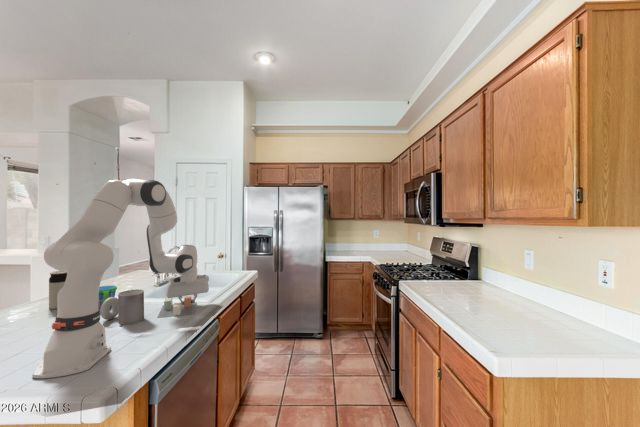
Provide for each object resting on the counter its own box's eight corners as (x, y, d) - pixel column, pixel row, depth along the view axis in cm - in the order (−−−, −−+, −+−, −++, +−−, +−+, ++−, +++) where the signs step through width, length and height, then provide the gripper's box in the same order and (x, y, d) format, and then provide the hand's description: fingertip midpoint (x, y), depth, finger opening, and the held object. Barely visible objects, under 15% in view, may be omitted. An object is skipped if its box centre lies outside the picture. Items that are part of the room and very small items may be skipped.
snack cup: (92, 305, 160) (92, 286, 160) (116, 302, 166) (116, 283, 166) (90, 313, 147) (90, 292, 147) (117, 309, 153) (117, 289, 153)
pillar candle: (128, 319, 140) (128, 286, 140) (149, 319, 139) (148, 286, 139) (112, 327, 130) (112, 292, 130) (134, 327, 130) (134, 292, 129)
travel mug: (64, 308, 155) (64, 272, 155) (45, 309, 153) (45, 273, 153) (72, 304, 162) (72, 270, 162) (54, 305, 160) (54, 270, 160)
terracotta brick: (190, 306, 154) (190, 299, 154) (184, 307, 153) (184, 299, 153) (191, 303, 160) (191, 295, 160) (185, 304, 158) (185, 296, 158)
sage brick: (170, 309, 151) (171, 300, 151) (164, 309, 150) (164, 301, 150) (172, 305, 156) (172, 297, 156) (165, 306, 155) (165, 298, 155)
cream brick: (180, 314, 142) (180, 306, 142) (173, 315, 141) (173, 306, 141) (181, 311, 148) (181, 302, 148) (174, 311, 147) (174, 303, 147)
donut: (105, 323, 134) (105, 300, 134) (98, 323, 135) (98, 300, 135) (122, 315, 144) (122, 294, 144) (115, 315, 145) (115, 294, 145)
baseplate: (195, 316, 144) (195, 314, 144) (156, 320, 138) (156, 317, 138) (196, 304, 162) (196, 302, 162) (162, 307, 157) (162, 305, 157)
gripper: (206, 273, 165) (206, 299, 165) (164, 278, 152) (164, 305, 152) (210, 275, 160) (210, 301, 160) (167, 280, 147) (167, 309, 147)
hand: (187, 303), depth 156 cm, fingers closed on terracotta brick, 4 cm apart
